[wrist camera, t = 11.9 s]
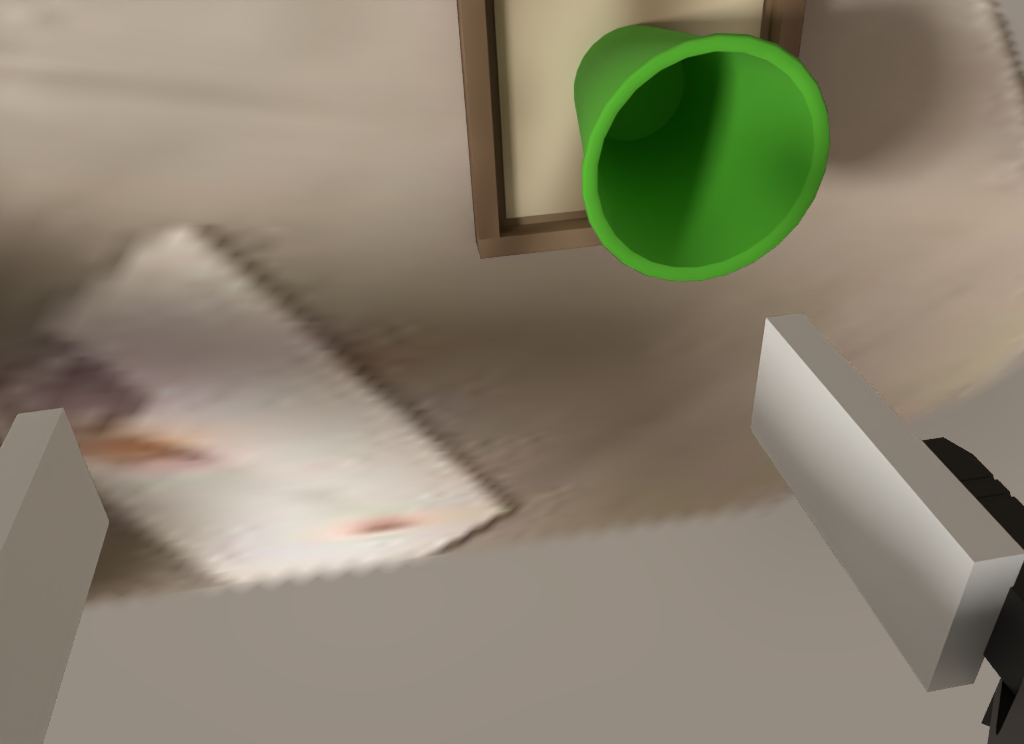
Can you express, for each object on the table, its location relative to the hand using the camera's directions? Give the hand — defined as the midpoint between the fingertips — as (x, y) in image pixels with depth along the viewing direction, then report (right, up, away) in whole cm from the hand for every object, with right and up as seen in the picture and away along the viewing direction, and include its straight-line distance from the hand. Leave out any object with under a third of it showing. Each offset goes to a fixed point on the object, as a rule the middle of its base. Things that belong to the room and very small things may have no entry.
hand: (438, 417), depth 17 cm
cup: (+7, +14, +23) cm, 28 cm away
